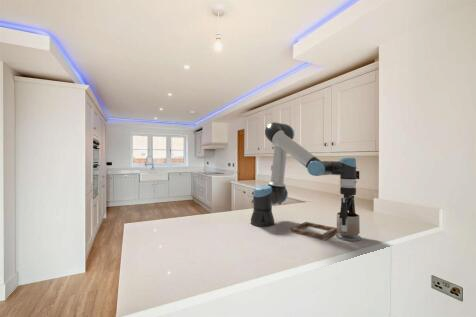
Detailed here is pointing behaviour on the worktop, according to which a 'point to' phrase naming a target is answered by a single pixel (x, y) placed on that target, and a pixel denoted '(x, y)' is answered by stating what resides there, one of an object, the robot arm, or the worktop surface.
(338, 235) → the slate trivet
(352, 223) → the planter
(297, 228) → the holder frame
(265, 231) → the worktop surface
